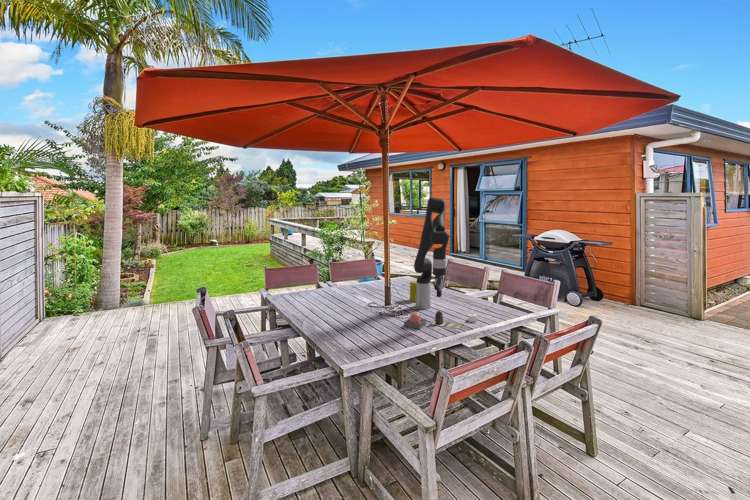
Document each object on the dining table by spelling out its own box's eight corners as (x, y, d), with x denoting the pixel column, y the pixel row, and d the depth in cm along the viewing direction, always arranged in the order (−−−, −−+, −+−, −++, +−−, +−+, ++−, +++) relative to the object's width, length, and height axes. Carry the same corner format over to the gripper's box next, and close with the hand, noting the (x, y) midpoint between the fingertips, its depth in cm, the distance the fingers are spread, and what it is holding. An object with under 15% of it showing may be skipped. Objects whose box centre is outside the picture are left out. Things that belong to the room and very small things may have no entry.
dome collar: (404, 328, 209) (403, 321, 209) (411, 323, 217) (411, 317, 217) (419, 331, 204) (419, 324, 204) (426, 326, 213) (426, 319, 212)
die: (468, 323, 217) (469, 315, 216) (468, 321, 221) (468, 313, 220) (476, 323, 216) (476, 316, 215) (476, 321, 220) (476, 313, 219)
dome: (407, 324, 210) (407, 313, 209) (412, 321, 215) (412, 311, 214) (418, 325, 206) (418, 315, 206) (422, 322, 212) (422, 312, 211)
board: (428, 326, 212) (428, 324, 212) (434, 321, 221) (434, 319, 221) (459, 331, 203) (459, 329, 203) (464, 326, 212) (464, 324, 211)
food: (408, 303, 267) (413, 301, 276) (424, 301, 262) (428, 298, 271) (404, 283, 267) (408, 281, 276) (419, 280, 262) (423, 278, 272)
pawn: (434, 323, 213) (434, 311, 212) (436, 321, 217) (436, 309, 216) (441, 325, 211) (441, 312, 210) (444, 322, 215) (444, 310, 214)
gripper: (441, 269, 202) (441, 300, 204) (449, 265, 214) (449, 294, 216) (428, 268, 206) (428, 298, 208) (437, 264, 218) (437, 293, 220)
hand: (439, 296), depth 212 cm, fingers closed
